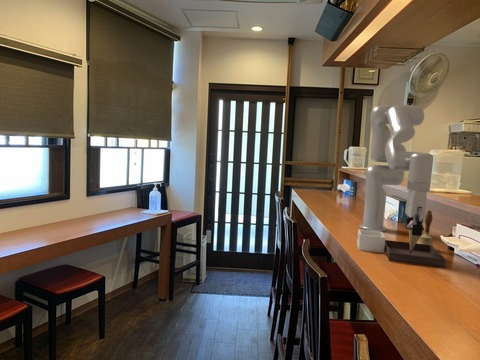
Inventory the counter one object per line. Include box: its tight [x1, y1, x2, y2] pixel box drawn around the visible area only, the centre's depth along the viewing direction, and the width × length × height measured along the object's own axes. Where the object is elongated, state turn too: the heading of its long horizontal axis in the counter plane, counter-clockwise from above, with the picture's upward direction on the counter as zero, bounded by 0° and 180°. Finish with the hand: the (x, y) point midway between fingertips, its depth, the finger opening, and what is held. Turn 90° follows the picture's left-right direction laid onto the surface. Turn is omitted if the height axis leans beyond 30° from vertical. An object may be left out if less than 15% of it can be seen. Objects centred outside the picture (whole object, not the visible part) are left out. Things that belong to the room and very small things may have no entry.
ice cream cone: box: [407, 219, 425, 254], centre depth 128 cm, size 6×6×15 cm
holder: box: [356, 228, 386, 254], centre depth 137 cm, size 9×9×6 cm
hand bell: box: [417, 209, 435, 248], centre depth 139 cm, size 8×8×16 cm
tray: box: [384, 239, 447, 269], centre depth 129 cm, size 18×18×3 cm
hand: (413, 232), depth 128 cm, fingers open, 9 cm apart
